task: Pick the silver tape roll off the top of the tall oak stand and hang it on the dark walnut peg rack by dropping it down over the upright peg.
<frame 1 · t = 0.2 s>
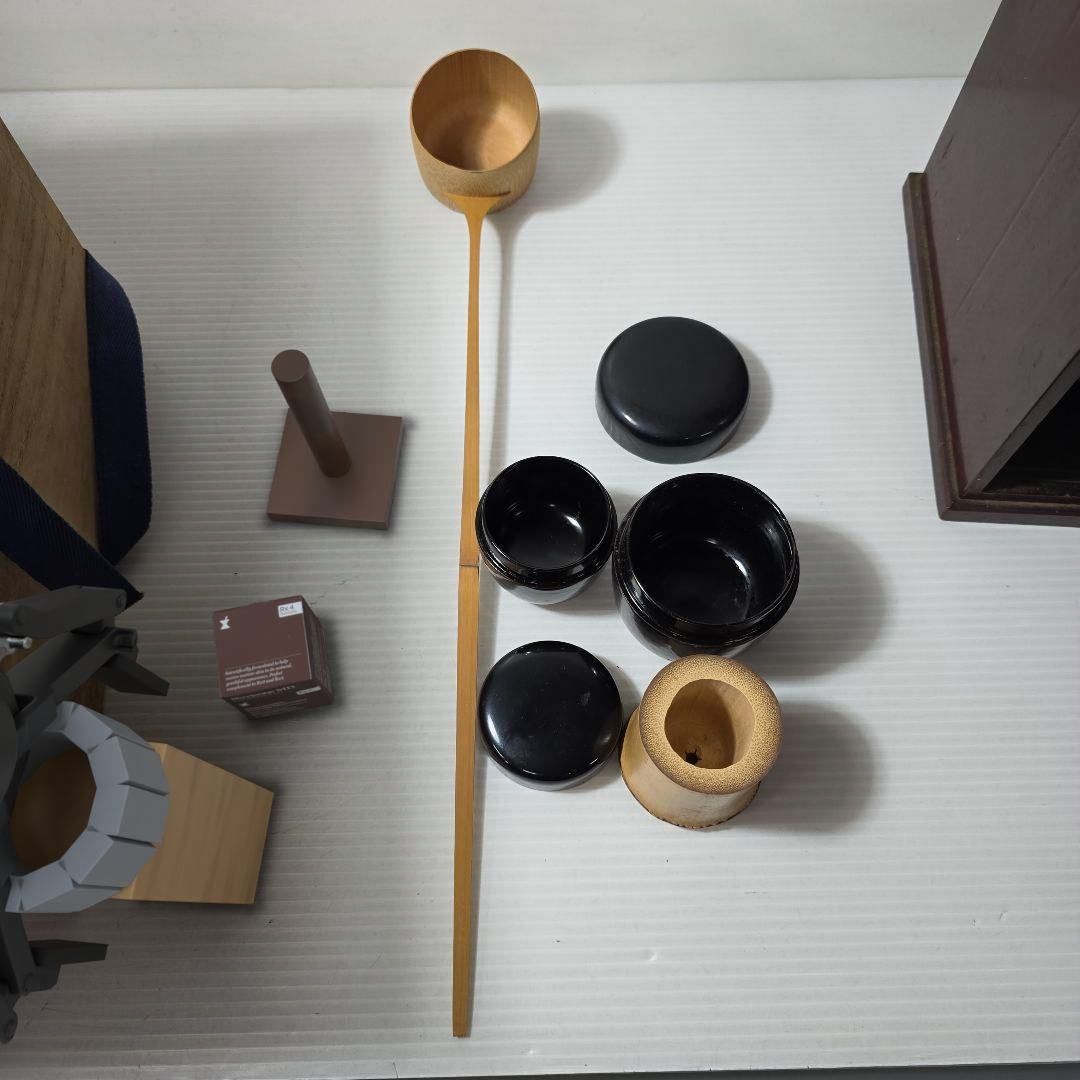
hand: (114, 812, 51), 14 cm above the table, tool pointing down, fingers open, 13 cm apart
stand: (211, 842, 64), on the table
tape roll: (76, 812, 46), point 20 cm above the table, touching stand
rack: (339, 472, 74), on the table
box: (289, 672, 69), on the table
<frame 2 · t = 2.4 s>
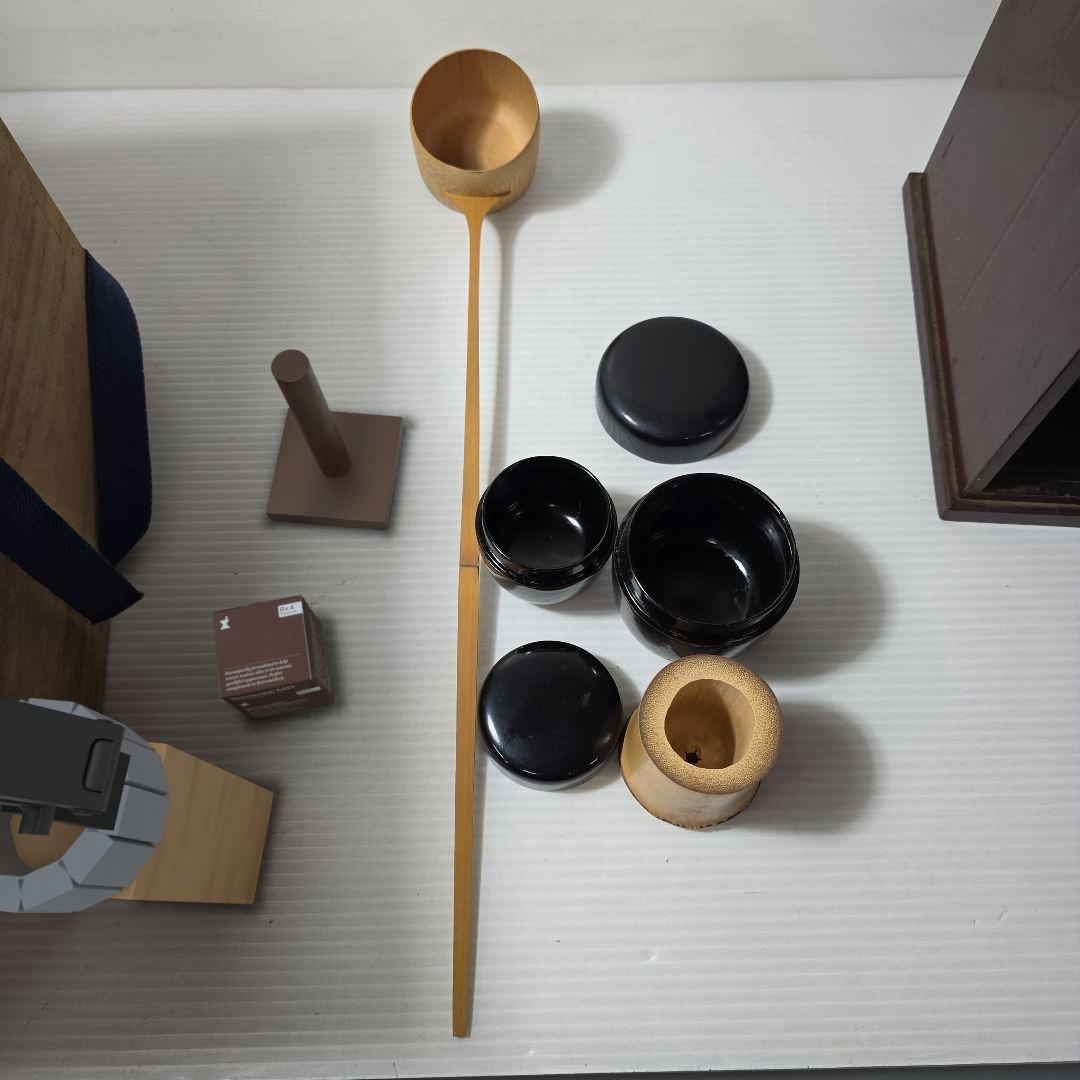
nothing on the table moved.
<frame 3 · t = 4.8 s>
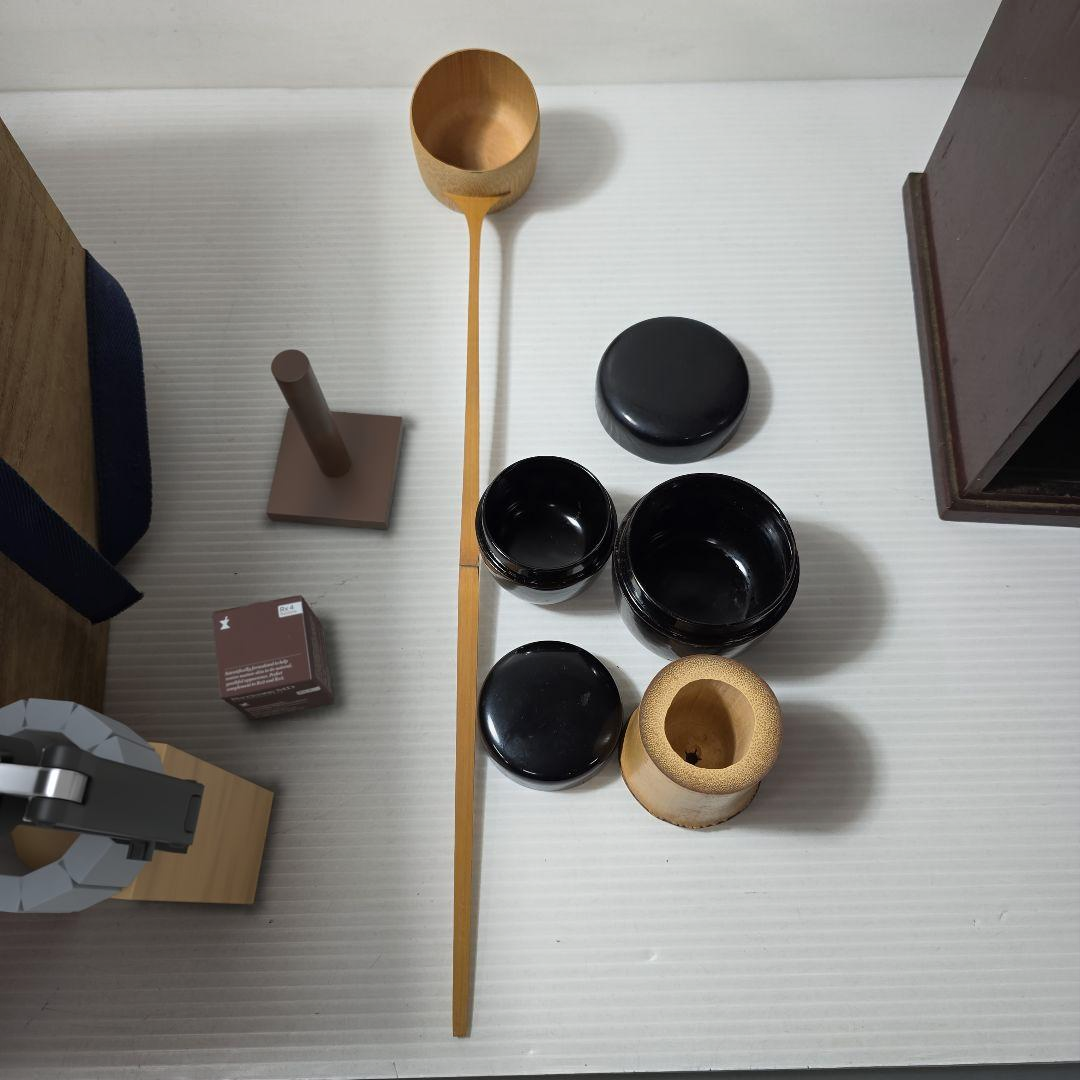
hand: (90, 815, 47), 18 cm above the table, tool pointing down, fingers closed on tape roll, 9 cm apart
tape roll: (76, 812, 46), point 20 cm above the table, touching gripper, stand
everything else where it was.
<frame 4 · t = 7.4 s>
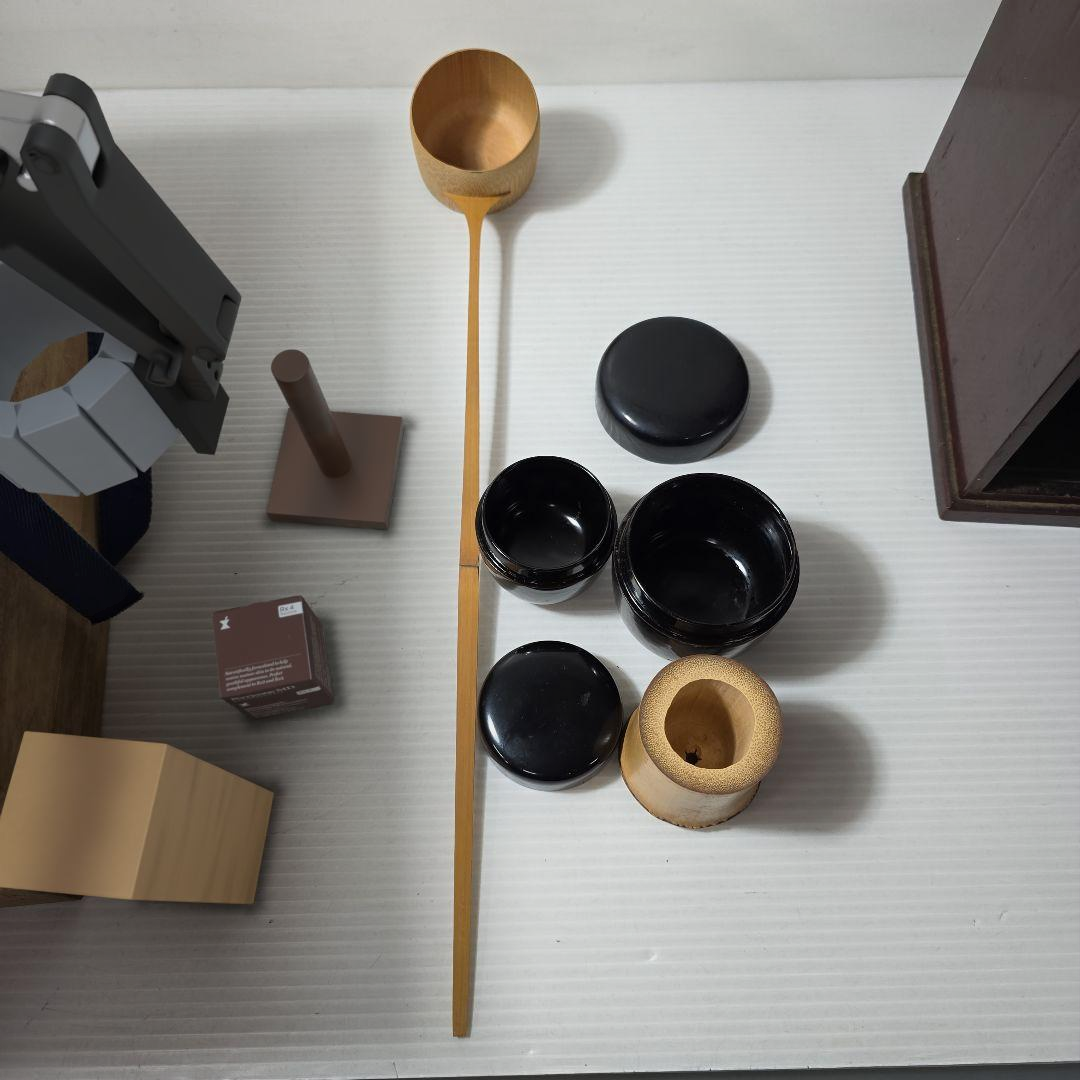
hand: (103, 414, 40), 32 cm above the table, tool pointing down, fingers closed on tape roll, 9 cm apart
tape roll: (85, 396, 39), point 33 cm above the table, touching gripper
everything else where it was.
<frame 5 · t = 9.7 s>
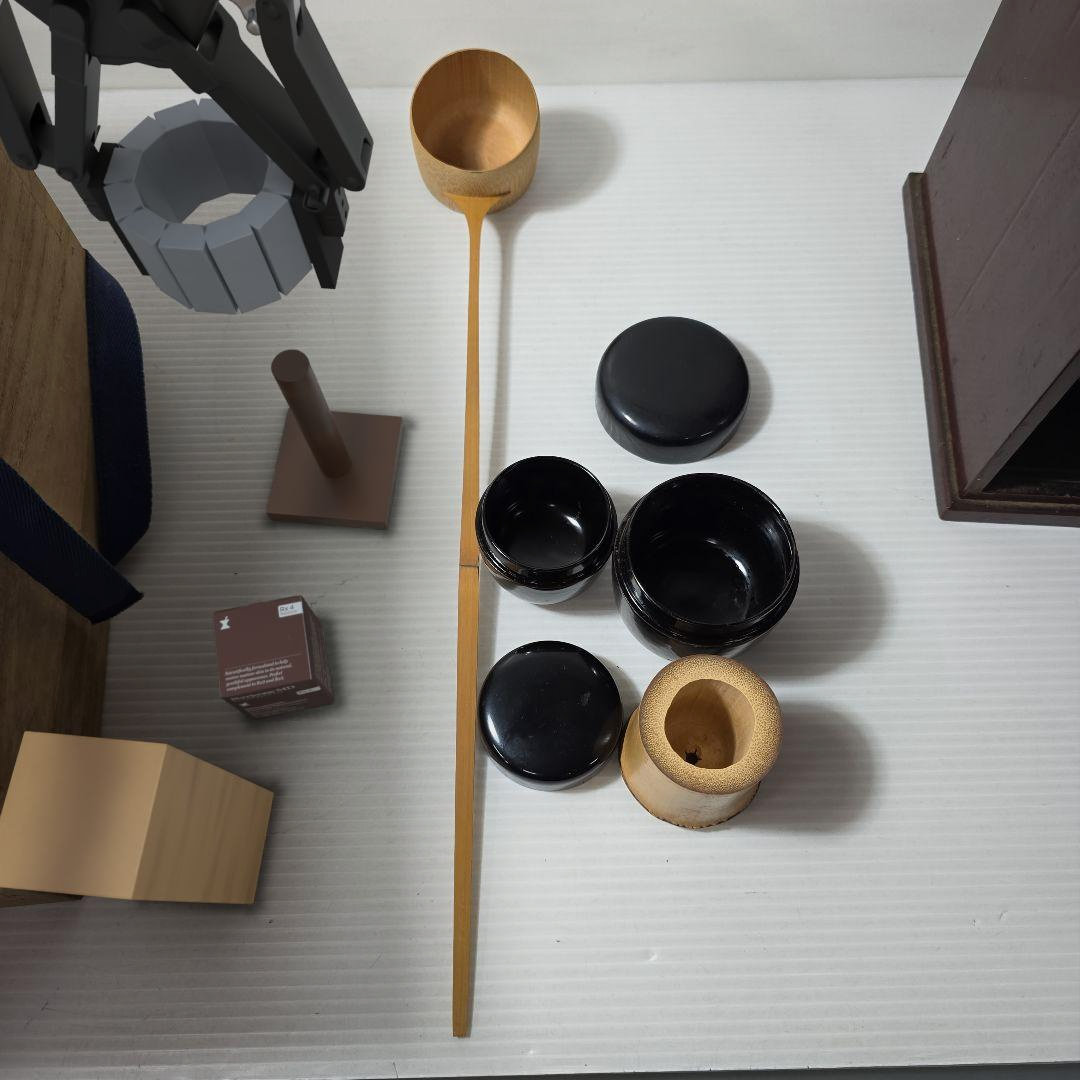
hand: (243, 261, 50), 26 cm above the table, tool pointing down, fingers closed on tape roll, 9 cm apart
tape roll: (234, 241, 49), point 27 cm above the table, touching gripper
everything else where it was.
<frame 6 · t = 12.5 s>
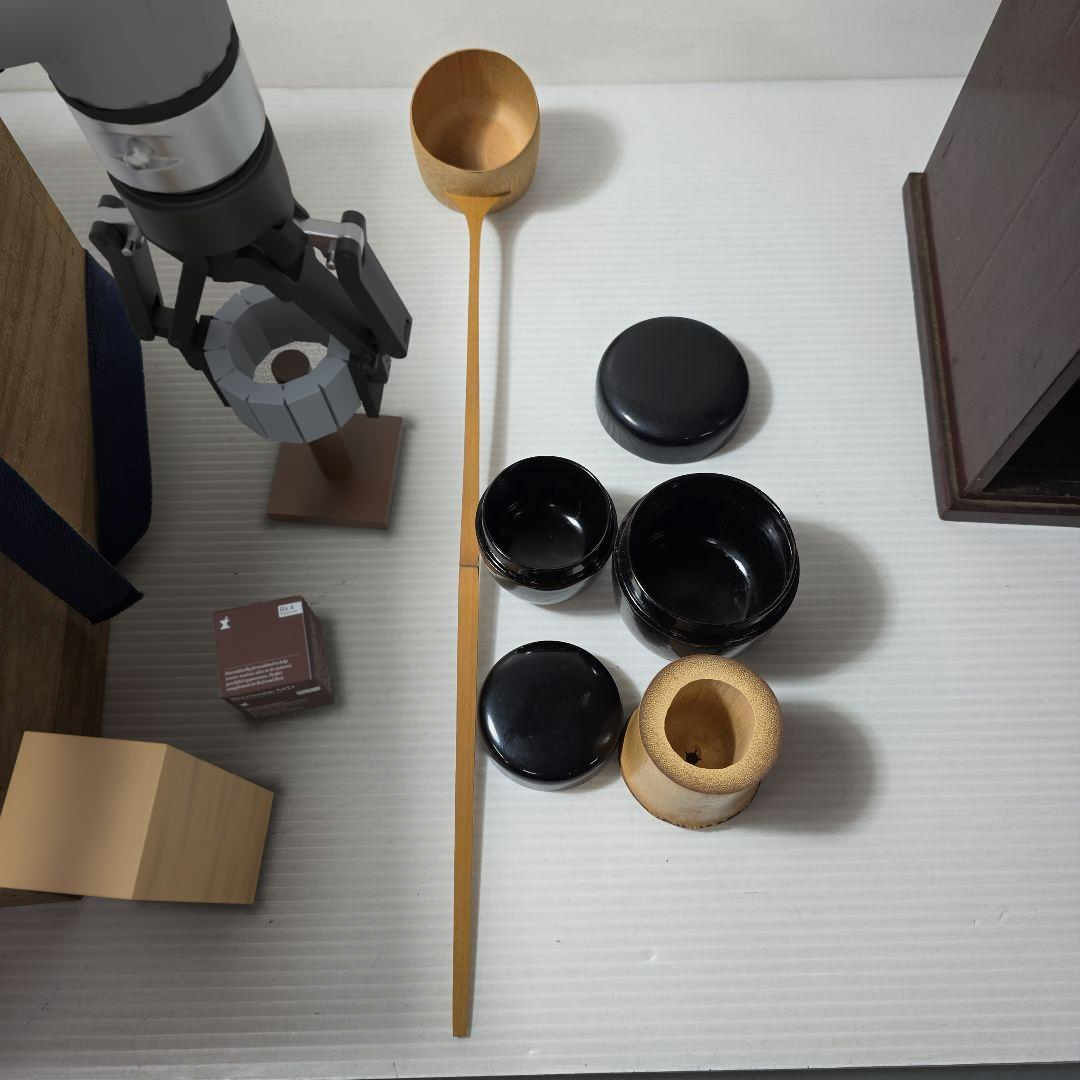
hand: (305, 394, 63), 12 cm above the table, tool pointing down, fingers closed on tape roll, 9 cm apart
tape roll: (299, 382, 62), point 13 cm above the table, touching gripper
everything else where it was.
when the fingers open (5 cm above the table, at t = 14.8 s): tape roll drops 5 cm, resting on rack.
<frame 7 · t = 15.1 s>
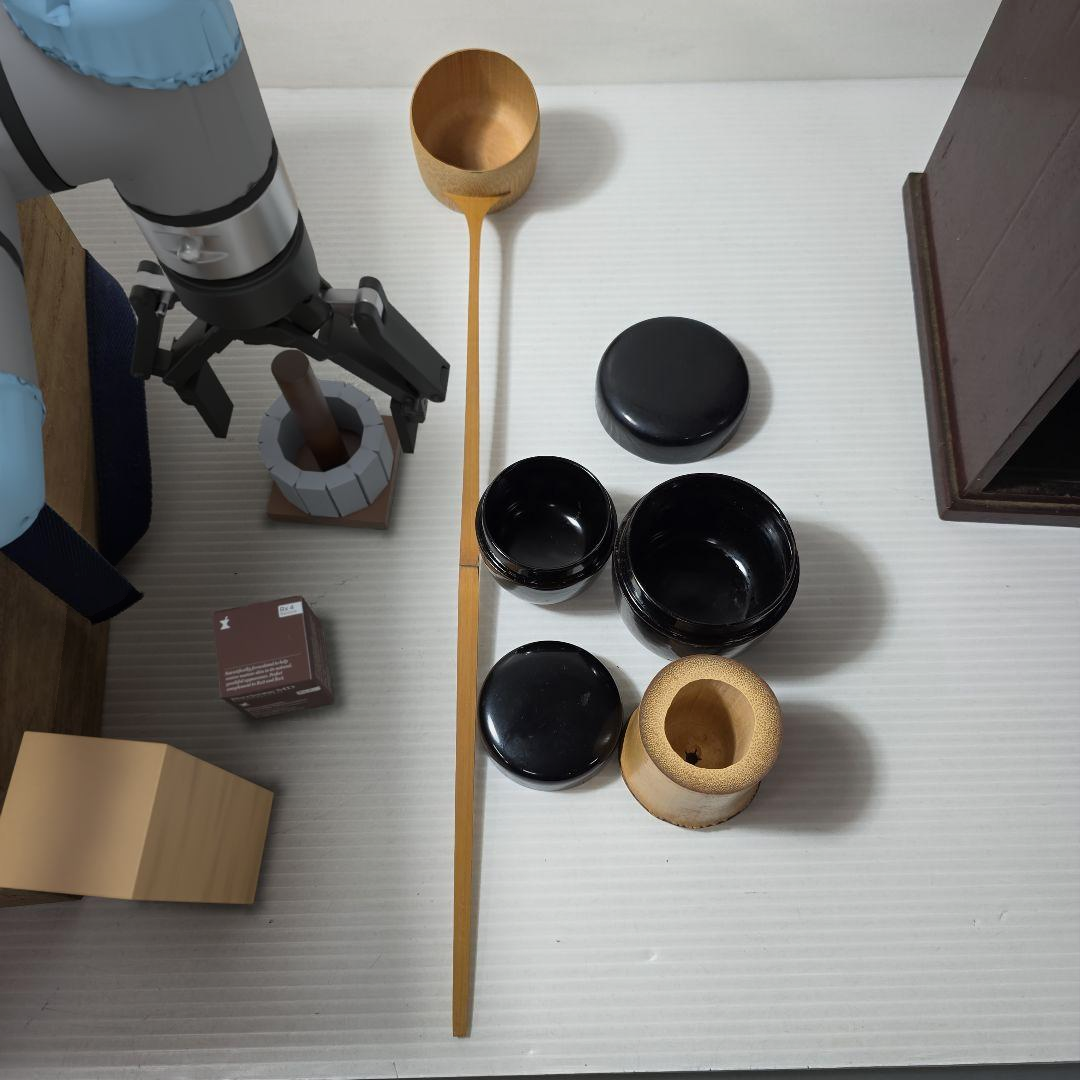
hand: (317, 429, 68), 7 cm above the table, tool pointing down, fingers open, 13 cm apart
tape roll: (334, 464, 73), point 1 cm above the table, touching rack
everything else where it was.
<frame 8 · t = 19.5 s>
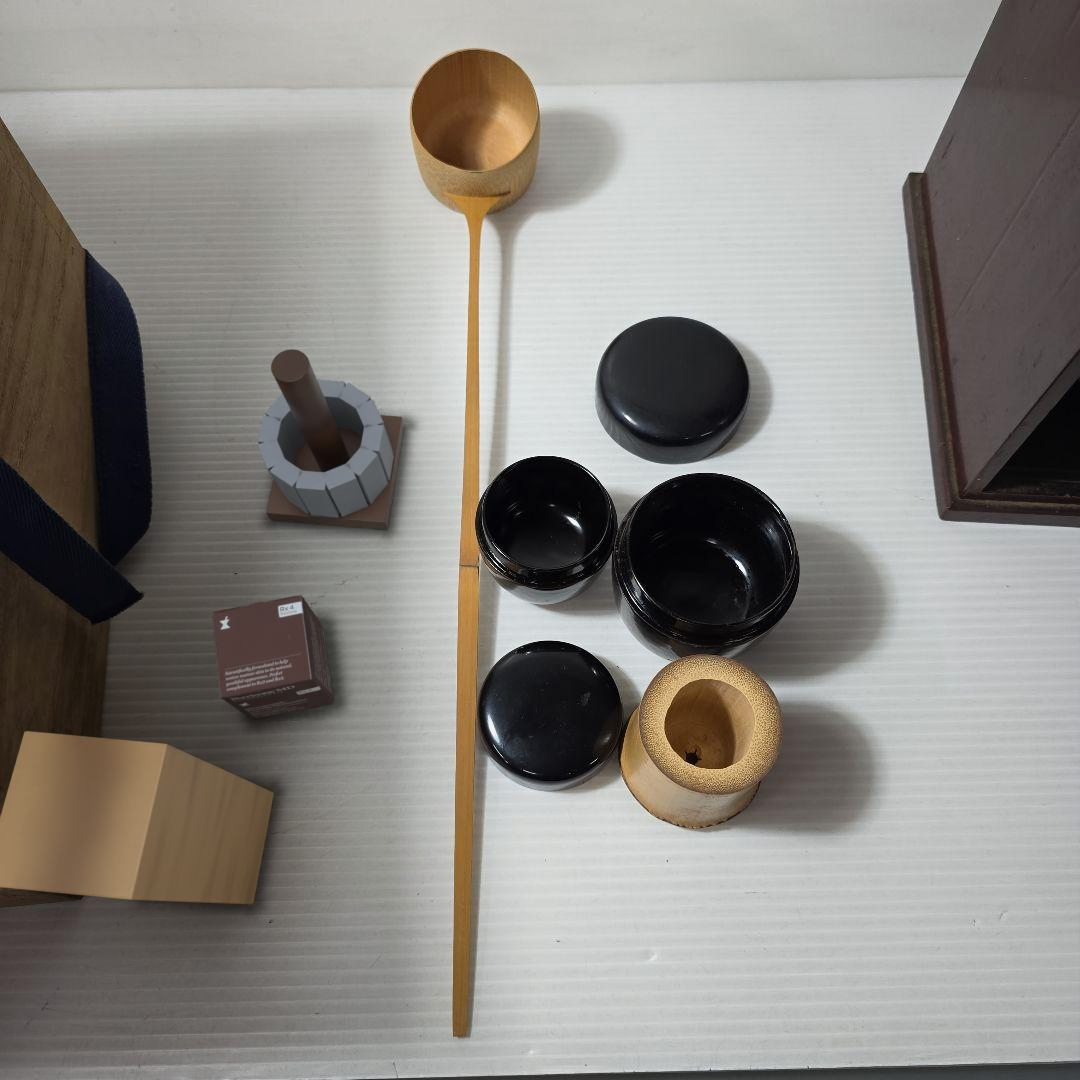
nothing on the table moved.
at the end: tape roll 0.0 cm from the rack (horizontally); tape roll point 1.5 cm above the table; the gripper is holding nothing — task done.
